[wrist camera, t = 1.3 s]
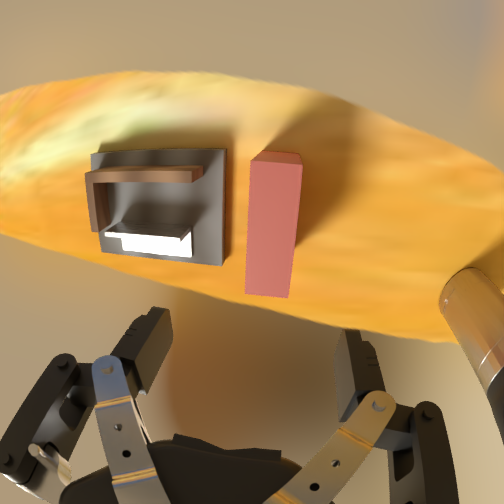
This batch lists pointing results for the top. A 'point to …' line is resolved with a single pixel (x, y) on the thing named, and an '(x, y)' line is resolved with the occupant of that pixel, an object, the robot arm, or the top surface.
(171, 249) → the bookend
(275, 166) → the book
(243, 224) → the top surface
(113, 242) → the book rack
